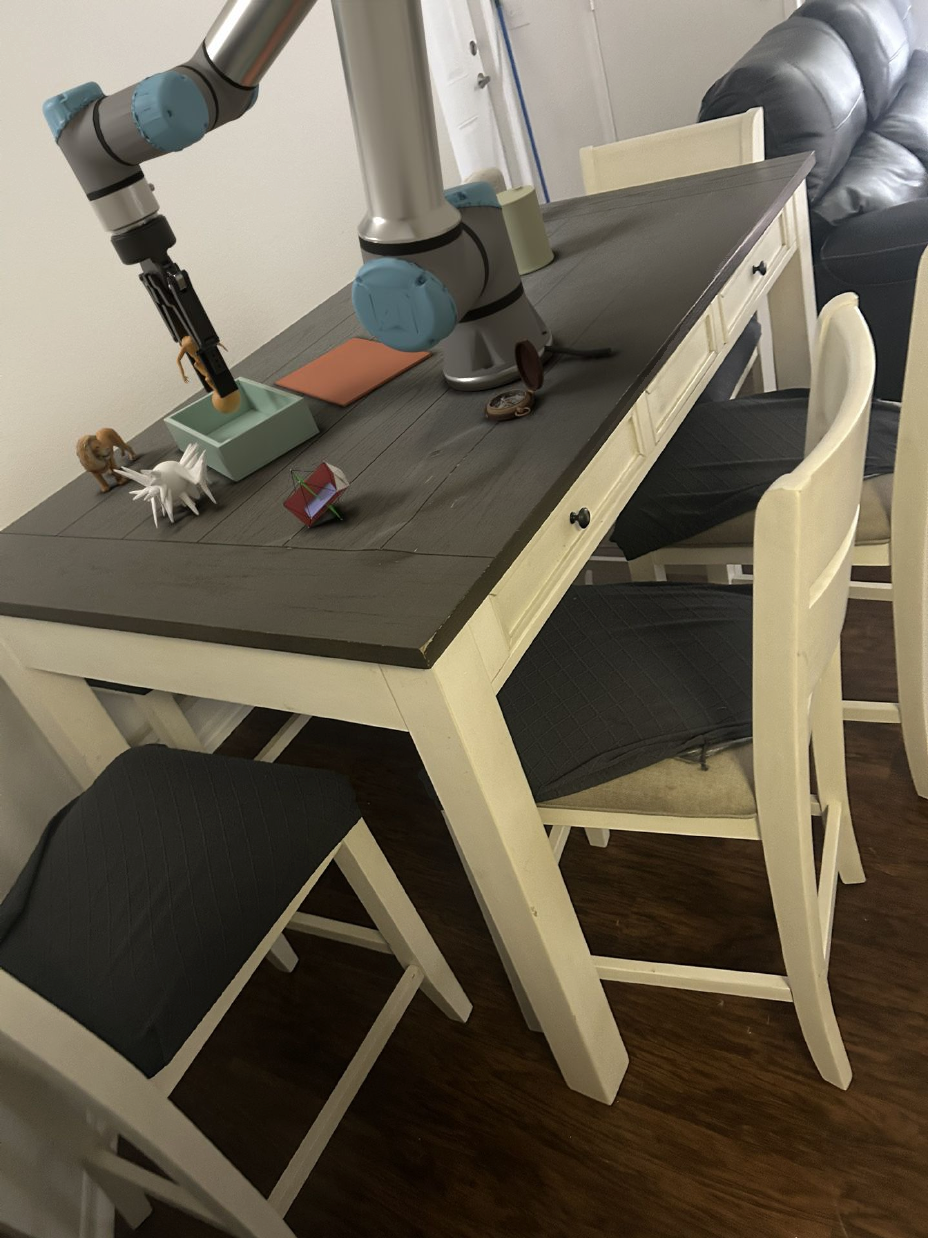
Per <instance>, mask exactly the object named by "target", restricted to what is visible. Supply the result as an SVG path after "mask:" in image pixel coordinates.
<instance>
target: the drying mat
mask: <svg viewBox="0 0 928 1238" xmlns="http://www.w3.org/2000/svg"><path fill="white" fill-rule="evenodd" d="M431 356H432V353H431V352H429V351H422V352H415V353H409V352H402V351H398V350H395V349H392V348H390V347H388V346H386V345H384V344H382V343H381V342H380V341H379V342H378V341H375V340H374V341H373V340H369V339H364V338H358V337H353V338H351V339H349V340H347V341H346V342H344V343H342V344H340V345H339V346H336V347H335V348H333V349H331V350H330V351H328V352H326V353H324V354H323V355H321V356H319V357H317V358H316V359H313V360H312V361H310V362H308V363H307V364H305V365H303V366H301V367H300V368H298V369H296V370H294V371H292V372H290V373H289V374H288V375H286V376H284V377H282V378H280V379H279V380H277V381H275V384H276V386H280V387H283V388H285V389H288V390H292V391H295V392H298V393H302V394H305V395H307V396H311V397H314V398H317V399H320V400H323V401H325V402H329V403H332V404H335V405H337V406H341V407H343V408H344V407H345V408H346V407H347V406H349V405H350V404H352V403H354V402H356V401H358V400H359V399H361V398H362V397H364V396H366V395H367V394H369V393H371V392H373V391H374V390H375V389H377V388H379V387H381V386H382V385H384V384H386V383H388V382H389V381H391V380H392V379H395V378H396V377H397V376H399V375H401V374H403V373H404V372H406V371H408V370H410V369H411V368H413V367H414V366H416V365H418V364H419V363H421V362H423V361H425V360H426V359H428V358H430V357H431Z"/></svg>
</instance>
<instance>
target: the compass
mask: <svg viewBox="0 0 928 1238" xmlns="http://www.w3.org/2000/svg"><path fill="white" fill-rule="evenodd" d="M514 352H515V361H516V365H517V369H518V372H519V374H520V377H521V378H520V379H521V381H522V382H523V384H524V386H525V387H526V389H527V390H524V389H519V388H517V389H516V388H515V389H510V390H505V391H503V392H501V393H498V394H497V395H495V396H494V397H493V398H491V399H490V400H489V402H488V403H487V405H486V406H485V408H484V413H485V417H486V419H488V420H491V421H506V420H511V419H514V418H517V417H523V416H525V415H528V414H529V413H530V412H531V408H532V406H533V405H534V402H535V396H534V394H535V392H536V391H538V390H540V389H542V388H543V385H544V380H545V374H544V373H545V372H544V367H543V365H542V363H541V359H540V357H539V354H538V352H537V350H536V349H535V347H534V346H533V344H532V343H531V342H530V341H528V340H527V339H523V340H520V341H518V342H517V343H516V345H515V351H514Z"/></svg>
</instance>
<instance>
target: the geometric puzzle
mask: <svg viewBox="0 0 928 1238" xmlns="http://www.w3.org/2000/svg"><path fill="white" fill-rule="evenodd" d="M317 464H318V462H317V463H316V462H315V465H317ZM313 465H314V463H312V464H311V466H313ZM300 468H303V466H302V467H301V466H300ZM297 469H298V470H297ZM289 472H290V473H289V474H290V475H289V476H288V477H289V478H290V476H291V479H292V483H293V490H292V492H291V493H290V494H289V496H288V497H287V499H286V500H284V501H283V502H282V504H281V505H282V507H284V508H285V509H286V510H288V511H289V512H290V513H291V514H293V515H294V516H295V517H296V518H297V519H298V520H300V521H301V522H302V523H303V524H304V525H305V526H306V527H307V528H308V529H310V528H312V527H314V524H315V523H317V521H318V520H320V519H322V517H323V516H324V515H325V514H326V513H327V512H329V511H330V510H331V511H332V512H333V514H335V515H336V516H337V517H338V518H335V520H334V521H331V523H334V522H335V521H336V522H337V521H343V517H344V516H343V515H339V513H340V514H342V512H341V509H339V513H338V512H337V511H336V509H335V508H334V506H335V505H336V503H337V502H340V498H341V497H342V495H344V493H345V492H346V490H347V491H349V489H350V486H351V484H350V483H349V481H348V479H347V477H346V475H345V474H344V472H343V471H342V469H340V468H339V467H337V466H334V465H332V464H330V463H328V462H327V461H325V460H323V461H321V462H319V465H318V466H317V467H316V468H314V469H313V470H311V471H310V470H305V472H308V474H307V475H305V477H303V478H301V477H299V476H298V475H297V474H296V473H295V472H300V470H299V467H297V468H296V469H295V468H294V469H290V470H289ZM293 476H294V477H295V478H296V480H297V481H298V483H297V485H296V486H295V480H294V477H293ZM308 476H309V477H308ZM307 477H308V478H307ZM304 479H306V480H305V481H304ZM289 480H290V479H288V480H287V482H289ZM299 485H300V486H299ZM298 486H299V487H298ZM286 487H288V484H287V486H286ZM297 487H298V488H297ZM287 489H288V488H286V490H285V491H288V490H287ZM296 489H297V490H296ZM286 493H287V492H285V495H286ZM348 493H349V492H347V495H348ZM285 498H286V496H284V498H283V499H285ZM347 499H348V497H346V498H345V500H347ZM346 503H347V501H345V503H344V504H346ZM338 507H339V508H341V505H340V503H338ZM343 509H345V506H344V507H343ZM329 523H330V521H329V522H327V524H329ZM325 524H326V523H325V522H324V523H323V525H325ZM320 525H322V524H319V526H320ZM315 526H316V527H317V526H318V524H316V525H315Z"/></svg>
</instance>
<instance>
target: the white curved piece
mask: <svg viewBox="0 0 928 1238" xmlns="http://www.w3.org/2000/svg"><path fill="white" fill-rule="evenodd" d="M478 181H485V182H488V183H490V184H491V185H492V186H493V188H494V190H495V193H496V194H498V193H501V192H503V191H506V190H508V189H507V188H508V187H507V184H506V180H505V177H504V175H503V173H502V171H501V169H499V167H496V166H489V167H483V168H480V169H478V170H476V171H474V172H471V173H470V174H469V175H468V176H466V177H465V178H464V179H463V180H462V181H461V182H460V184H459V185H458V186H460V185H464V184H468V183H472V182H478Z"/></svg>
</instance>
